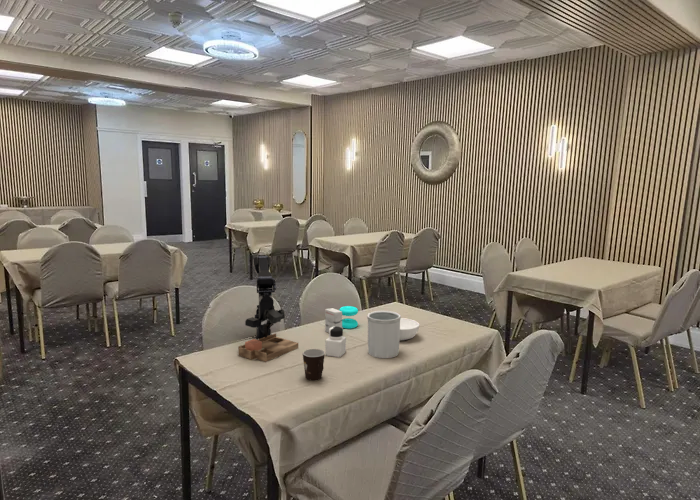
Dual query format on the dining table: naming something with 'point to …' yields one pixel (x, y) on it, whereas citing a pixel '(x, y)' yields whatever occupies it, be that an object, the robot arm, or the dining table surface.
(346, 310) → the donuts
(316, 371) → the coffee mug
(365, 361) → the dining table surface
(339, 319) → the ink box
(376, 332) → the utensil holder
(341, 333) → the medicine bottle
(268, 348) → the brown compartment tray
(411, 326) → the bowl
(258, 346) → the block
